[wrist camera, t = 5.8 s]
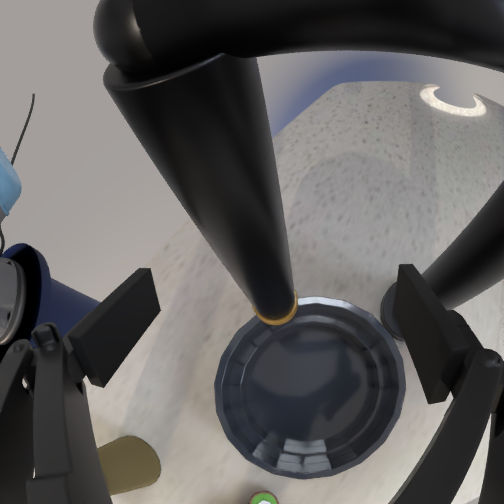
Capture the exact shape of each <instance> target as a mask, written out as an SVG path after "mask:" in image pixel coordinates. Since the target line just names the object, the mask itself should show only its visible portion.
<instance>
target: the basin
mask: <svg viewBox="0 0 504 504" xmlns="http://www.w3.org/2000/svg"><path fill="white" fill-rule="evenodd" d="M214 389H215V404H216V412H217V416H218V418H219V420H220V423H221V425H222V427H223V430H224V432H225V434H226V437H227V438H228V440H229V441H230V442H231V443H232V444H233V445H234V447H235V448H236V449H237V450H238V451H239V452H240V453H241V454H242V455H243V456H244V457H245V458H246V459H247V460H248V461H250V462H252V463H253V464H255V465H257V466H259V467H261V468H262V469H264V470H266V471H268V472H270V473H272V474H276V475H280V476H286V477H291V478H297V479H312V478H320V477H328V476H333V475H336V474H338V473H341V472H343V471H345V470H347V469H350V468H352V467H354V466H356V465H358V464H360V463H362V462H363V461H364V460H365V459H366V458H368V457H369V456H370V455H371V454H372V453H373V452H374V451H376V450H377V449H378V448H379V447H380V446H381V445H382V444H383V443H384V442H385V441H386V439H387V437H388V436H389V434H390V433H391V431H392V429H393V427H394V426H395V424H396V422H397V421H398V419H399V416H400V414H401V410H402V405H403V401H404V396H405V391H406V382H405V373H404V364H403V358H402V356H401V354H400V352H399V350H398V348H397V346H396V344H395V342H394V339H393V337H392V335H391V334H390V333H389V332H388V331H387V330H386V329H385V328H384V327H383V326H382V325H381V324H380V323H379V322H378V320H377V319H376V318H375V317H374V316H373V315H372V314H370V313H368V312H366V311H365V310H363V309H361V308H359V307H357V306H355V305H353V304H351V303H349V302H347V301H344V300H338V299H332V298H326V297H320V296H312V297H304V298H298V308H297V311H296V313H295V315H294V316H293V318H292V319H291V320H289V321H288V322H286V323H284V324H281V325H270V324H267V323H265V322H263V321H262V320H261V319H260V318H259V317H258V316H257V315H256V316H254V317H253V318H252V319H251V320H250V321H249V322H247V323H246V324H245V325H244V326H243V327H242V328H240V329H239V330H238V331H237V332H236V334H235V335H234V337H233V339H232V340H231V342H230V343H229V345H228V347H227V348H226V350H225V351H224V353H223V354H222V356H221V359H220V363H219V367H218V371H217V375H216V379H215V382H214Z"/></svg>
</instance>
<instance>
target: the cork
mask: <svg viewBox="0 0 504 504" xmlns="http://www.w3.org/2000/svg"><path fill="white" fill-rule="evenodd" d="M97 451H98V455H99V459H100V463H101V467H102V471H103V474H104V478H105V481H106V484H107V488H108V491H109V494H110V495H115V494H119V493H123V492H127V491H131V490H135V489H138V488H142V487H145V486H149V485H151V484H153V483H154V482H156V481H157V479H158V478H159V476H160V470H161V467H160V461H159V459H158V457H157V455H156V452H155V451H154V450H153V449H152V448H151V446H150V445H149V444H147V443H146V442H145V441H143V440H142V439H140V438H137V437H135V436H124V437H121V438H119V439H117V440H115V441H112V442H110V443H108V444H106V445H104V446H102V447H99V448H97Z"/></svg>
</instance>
